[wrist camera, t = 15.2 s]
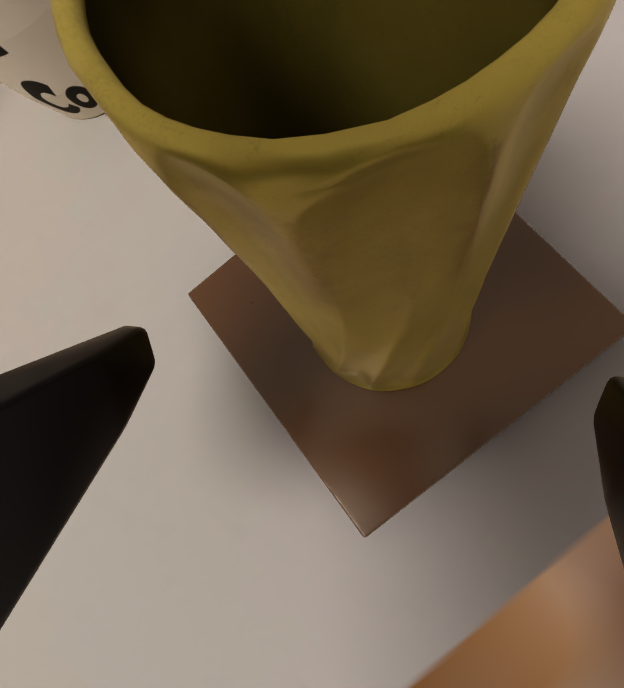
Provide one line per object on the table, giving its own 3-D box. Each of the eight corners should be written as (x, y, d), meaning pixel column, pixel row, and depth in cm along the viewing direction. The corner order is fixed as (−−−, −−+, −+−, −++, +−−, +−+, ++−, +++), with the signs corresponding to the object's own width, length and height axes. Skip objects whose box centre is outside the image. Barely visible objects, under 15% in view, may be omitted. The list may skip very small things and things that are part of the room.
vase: (279, 298, 19) (-80, -78, 5) (403, 207, 18) (393, -474, 5) (367, 424, 17) (201, 393, 3) (505, 327, 17) (973, -169, 3)
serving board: (623, 331, 17) (636, 325, 16) (366, 533, 17) (364, 539, 16) (408, 125, 20) (408, 109, 19) (197, 300, 20) (186, 293, 20)
